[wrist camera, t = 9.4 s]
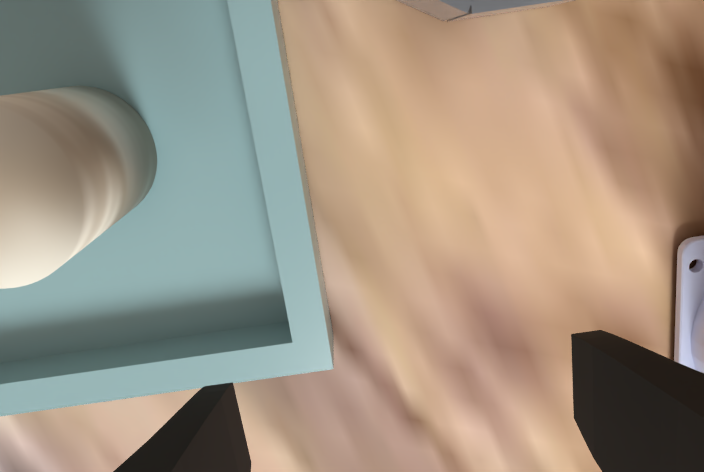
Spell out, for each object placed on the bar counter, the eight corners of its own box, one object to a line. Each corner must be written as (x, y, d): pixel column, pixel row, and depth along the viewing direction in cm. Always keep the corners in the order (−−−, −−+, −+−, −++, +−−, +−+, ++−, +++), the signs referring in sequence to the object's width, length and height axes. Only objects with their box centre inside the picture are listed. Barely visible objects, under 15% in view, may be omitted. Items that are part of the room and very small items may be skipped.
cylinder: (171, 208, 20) (105, 273, 14) (43, 228, 20) (-74, 301, 14) (137, 75, 18) (48, 86, 12) (0, 97, 18) (-151, 118, 13)
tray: (333, 335, 22) (333, 369, 20) (-130, 401, 22) (-185, 442, 20) (253, -143, 17) (241, -175, 15) (-335, -54, 17) (-440, -71, 15)
